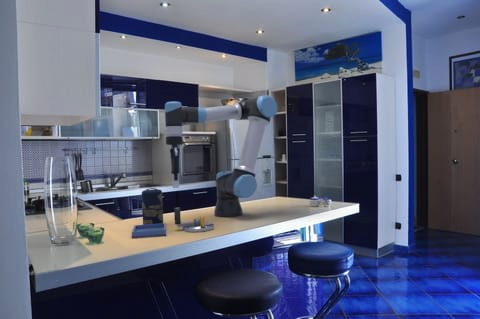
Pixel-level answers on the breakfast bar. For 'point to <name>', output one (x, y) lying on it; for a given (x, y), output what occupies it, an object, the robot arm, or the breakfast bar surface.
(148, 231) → the tray
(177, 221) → the crank
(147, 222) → the canister
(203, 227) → the crank base
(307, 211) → the breakfast bar surface
